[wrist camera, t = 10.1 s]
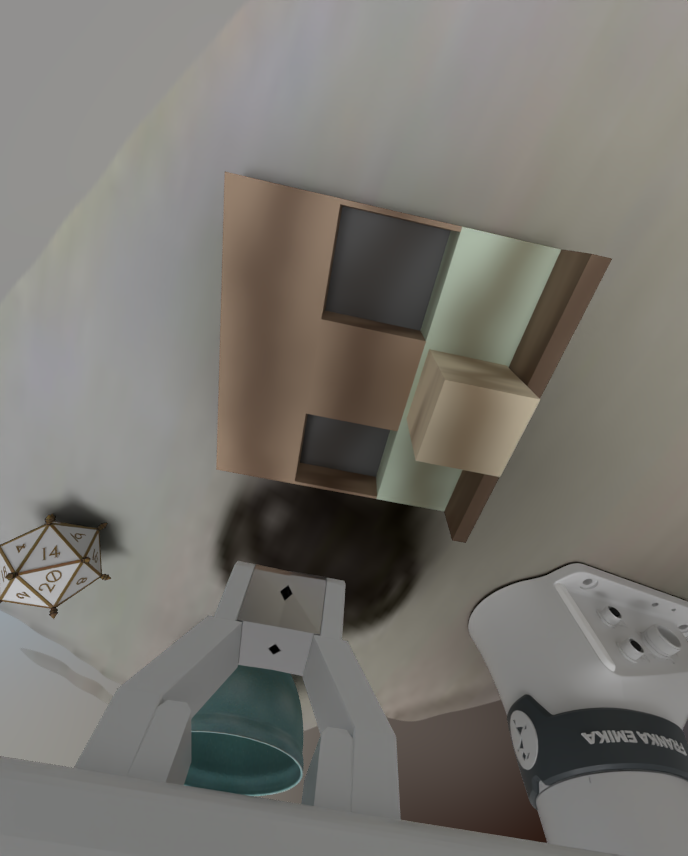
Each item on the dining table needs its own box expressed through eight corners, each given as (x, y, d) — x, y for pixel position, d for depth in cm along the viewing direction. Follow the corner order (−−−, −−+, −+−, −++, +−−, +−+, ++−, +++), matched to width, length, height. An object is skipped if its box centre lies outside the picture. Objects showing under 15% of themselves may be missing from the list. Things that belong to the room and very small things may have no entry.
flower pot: (313, 694, 50) (301, 804, 40) (195, 683, 50) (156, 791, 41) (317, 623, 42) (304, 740, 32) (177, 611, 42) (123, 724, 32)
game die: (95, 489, 38) (18, 495, 28) (149, 549, 38) (91, 575, 28) (23, 551, 37) (-84, 580, 27) (79, 613, 37) (-8, 665, 27)
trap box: (553, 249, 22) (611, 258, 17) (448, 489, 31) (465, 542, 26) (242, 177, 21) (201, 163, 16) (229, 448, 30) (201, 495, 25)
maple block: (506, 365, 23) (540, 399, 18) (476, 433, 25) (500, 477, 21) (429, 349, 22) (445, 379, 18) (406, 418, 25) (415, 460, 21)
